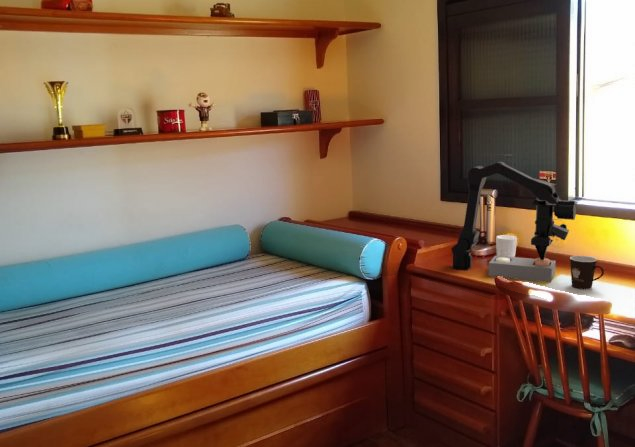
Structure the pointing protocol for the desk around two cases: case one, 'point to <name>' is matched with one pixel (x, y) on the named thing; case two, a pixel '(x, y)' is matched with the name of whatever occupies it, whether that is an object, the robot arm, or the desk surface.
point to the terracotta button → (542, 262)
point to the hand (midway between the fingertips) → (542, 259)
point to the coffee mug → (583, 271)
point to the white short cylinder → (503, 259)
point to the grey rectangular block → (522, 269)
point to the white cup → (506, 245)
